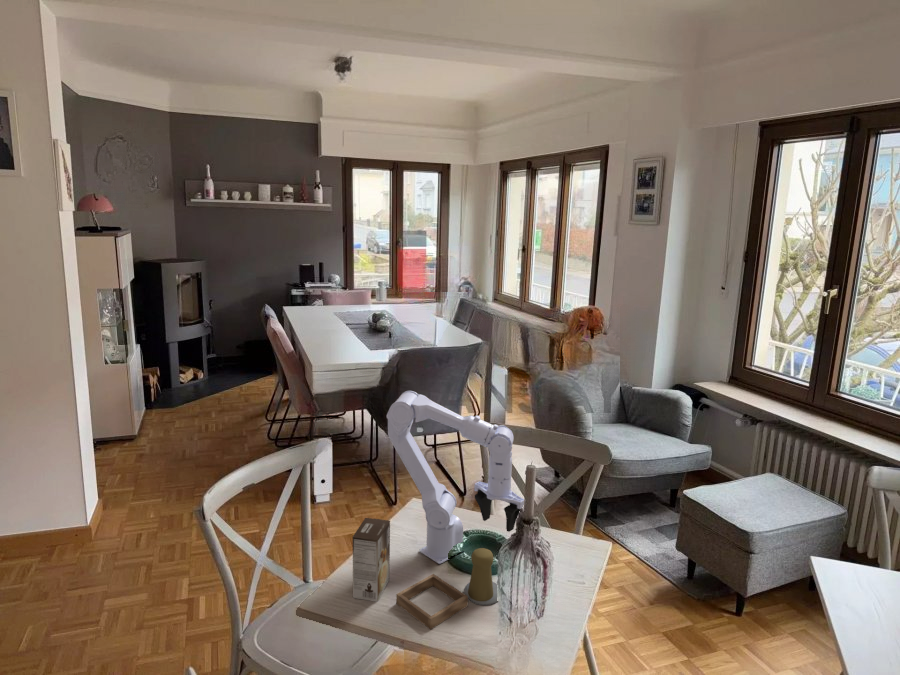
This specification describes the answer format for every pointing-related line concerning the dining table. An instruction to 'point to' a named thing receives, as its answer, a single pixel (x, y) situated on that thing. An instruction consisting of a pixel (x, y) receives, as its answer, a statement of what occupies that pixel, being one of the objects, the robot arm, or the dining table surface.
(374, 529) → the coffee box
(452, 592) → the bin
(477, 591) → the olive waisted cylinder
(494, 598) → the grey pebble
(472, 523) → the dining table surface
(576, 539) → the dining table surface
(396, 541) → the dining table surface
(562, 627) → the dining table surface
